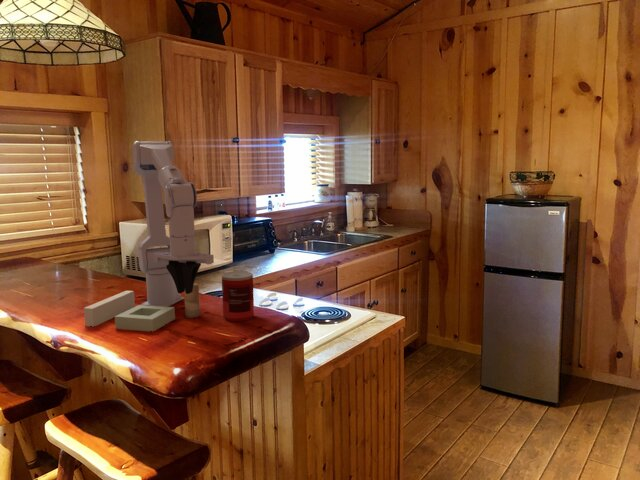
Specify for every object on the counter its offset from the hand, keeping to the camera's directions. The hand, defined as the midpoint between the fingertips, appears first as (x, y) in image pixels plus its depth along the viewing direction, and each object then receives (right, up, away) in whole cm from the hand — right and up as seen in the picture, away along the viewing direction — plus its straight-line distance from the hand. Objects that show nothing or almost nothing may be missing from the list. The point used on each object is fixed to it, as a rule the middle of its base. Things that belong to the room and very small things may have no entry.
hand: (185, 292), depth 128 cm
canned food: (+11, -7, +9) cm, 16 cm away
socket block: (-11, -8, +4) cm, 14 cm away
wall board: (-21, -7, +11) cm, 25 cm away
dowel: (-1, -7, +10) cm, 12 cm away
